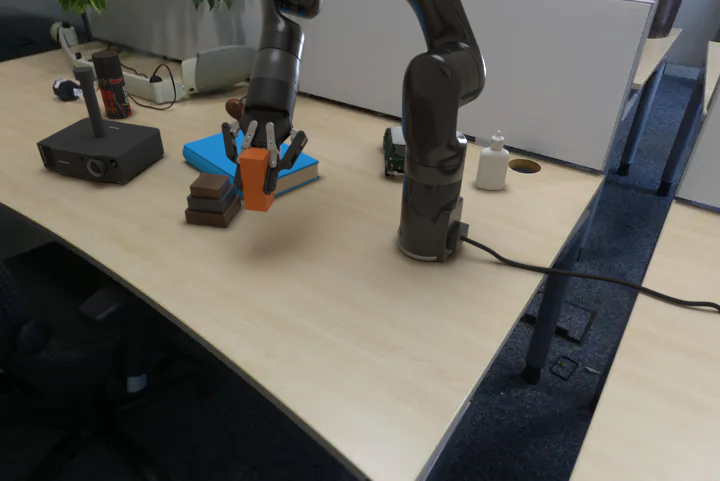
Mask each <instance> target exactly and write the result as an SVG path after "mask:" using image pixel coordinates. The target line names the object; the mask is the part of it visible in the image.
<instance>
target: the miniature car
mask: <svg viewBox="0 0 720 481" xmlns="http://www.w3.org/2000/svg"><path fill="white" fill-rule="evenodd" d="M382 138H383V139H382V151H383V156H384V177H391V176H392V175H395V177H398V176H404V164H405V150H406V144H405V141H404V138H403V134H402V124H399V125H393V126H390V127H386V128H385V130H384V133H383V136H382Z"/></svg>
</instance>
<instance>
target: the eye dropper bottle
mask: <svg viewBox="0 0 720 481" xmlns="http://www.w3.org/2000/svg"><path fill="white" fill-rule="evenodd" d="M504 142H505V138H504V136H503V135H502V131H501V130H497V131H496V133H495V135H492V136H491V138H490V142H489V143H490V144H489V146H488V147H485V148H483V149H481V151H480V153H479V158H478V164H477V171H476V176H475V186H476V188H478V189H481V190H486V191H500V190H503V189H504V187H505V183H506V178H507V173H508V168H509V164H510V158H511V156H510V153H509V151H508V150H507V149H506V148H504Z"/></svg>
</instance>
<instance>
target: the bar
mask: <svg viewBox="0 0 720 481" xmlns="http://www.w3.org/2000/svg"><path fill="white" fill-rule="evenodd" d="M239 161H240V170H241V179H242V186H243V197H244V199H243V205H244V210H245V211H255V212H261V213H267V212H269V210H270V209H271V207H272V205H273V204H274V202H275V197H274V192H271V195H266V194H264V193H263V185H264V182H265V176H266V171H267V168H269V151H268V150H267V149H260V148H251V147H250V148H249V149H246V150H245V151H244V152H243V153H242V155H241V156H240V157H239Z"/></svg>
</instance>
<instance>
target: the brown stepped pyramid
mask: <svg viewBox="0 0 720 481" xmlns="http://www.w3.org/2000/svg"><path fill="white" fill-rule="evenodd" d="M189 191H190V193H189V194H188V196H186V202H187V207H186V209H185V210H184V216H185V221H186V223H188V224H194V225H203V226H207V227H208V226H210V227H217V228H224V229H226V228H227V227H228V226H229V225H230V224H231V222H232V221H233V219H234V218H235V216H236V215H237V213H238V212H239V211H240V209H241V208H242V198H241V197H240V195H236V190H235V185H234V184H230V179H229V176H226V175H218V174H209V173H203V172H201V173H200V174H199V175H198V177H197V178H195V180H194V181H192V183H190V185H189Z"/></svg>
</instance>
